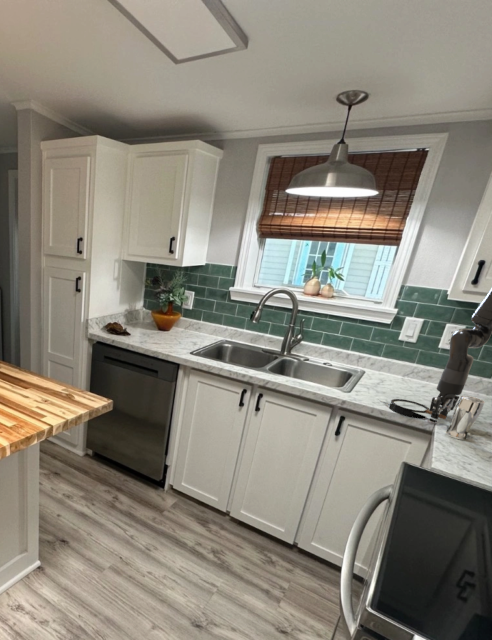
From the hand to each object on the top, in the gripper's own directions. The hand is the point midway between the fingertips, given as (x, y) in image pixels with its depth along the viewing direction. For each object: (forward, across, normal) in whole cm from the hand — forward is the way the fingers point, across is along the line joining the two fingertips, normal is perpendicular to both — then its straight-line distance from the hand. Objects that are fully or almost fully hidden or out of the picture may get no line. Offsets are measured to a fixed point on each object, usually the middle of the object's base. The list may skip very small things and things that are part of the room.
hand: (437, 420), depth 161 cm
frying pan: (+1, 0, +8) cm, 8 cm away
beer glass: (+2, -5, -9) cm, 11 cm away
